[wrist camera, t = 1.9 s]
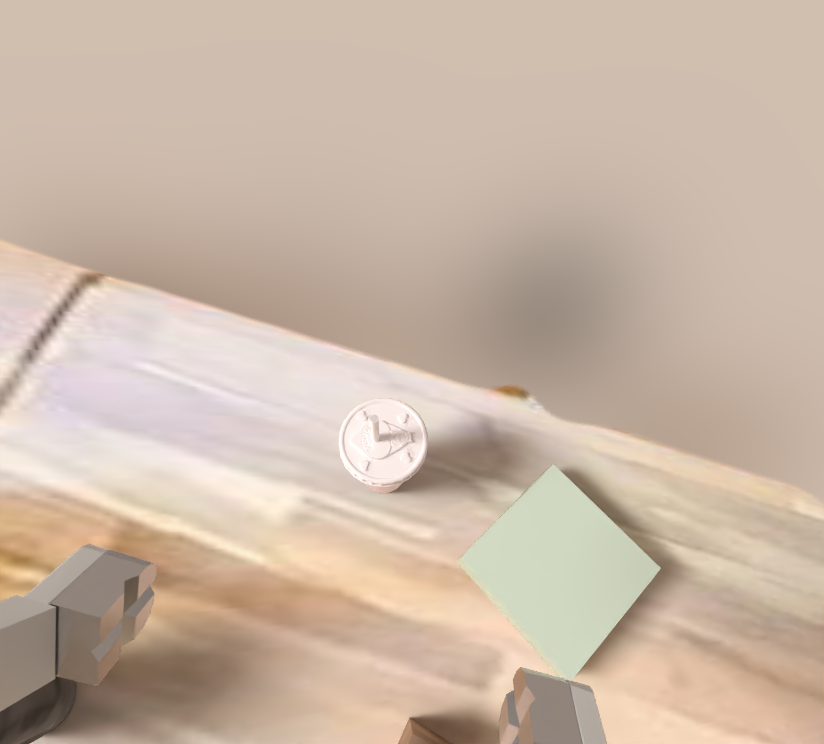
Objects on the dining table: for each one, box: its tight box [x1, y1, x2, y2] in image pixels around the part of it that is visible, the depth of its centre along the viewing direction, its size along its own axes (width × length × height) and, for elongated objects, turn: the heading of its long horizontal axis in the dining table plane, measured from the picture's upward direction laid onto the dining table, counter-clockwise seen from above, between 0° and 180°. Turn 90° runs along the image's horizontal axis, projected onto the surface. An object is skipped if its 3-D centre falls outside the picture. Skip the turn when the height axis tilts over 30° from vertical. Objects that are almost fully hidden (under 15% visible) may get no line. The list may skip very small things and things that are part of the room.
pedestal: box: [456, 464, 661, 681], centre depth 40 cm, size 11×11×3 cm
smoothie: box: [339, 398, 428, 493], centre depth 37 cm, size 6×6×14 cm
